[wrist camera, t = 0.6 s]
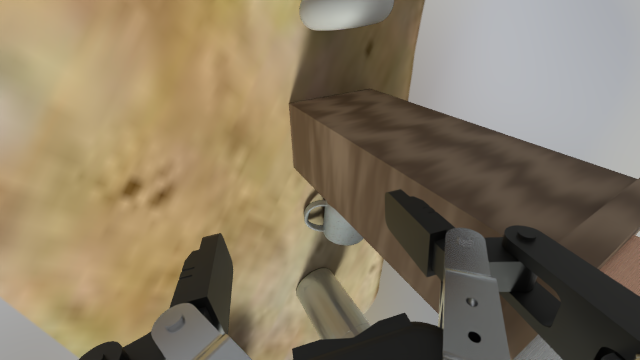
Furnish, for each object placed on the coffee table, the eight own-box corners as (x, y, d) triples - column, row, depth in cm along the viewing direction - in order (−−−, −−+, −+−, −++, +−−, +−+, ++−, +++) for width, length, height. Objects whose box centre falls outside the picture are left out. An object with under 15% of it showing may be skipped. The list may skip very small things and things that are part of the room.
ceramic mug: (352, 180, 49) (378, 202, 43) (348, 214, 53) (372, 238, 48) (300, 196, 45) (323, 222, 39) (302, 231, 49) (322, 260, 43)
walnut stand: (288, 174, 41) (487, 392, 18) (281, 96, 34) (584, 280, 11) (369, 150, 47) (590, 284, 24) (376, 81, 41) (689, 175, 18)
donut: (355, -16, 32) (418, -23, 25) (355, 17, 34) (414, 19, 27) (280, -5, 29) (329, -10, 21) (286, 30, 31) (332, 37, 23)
